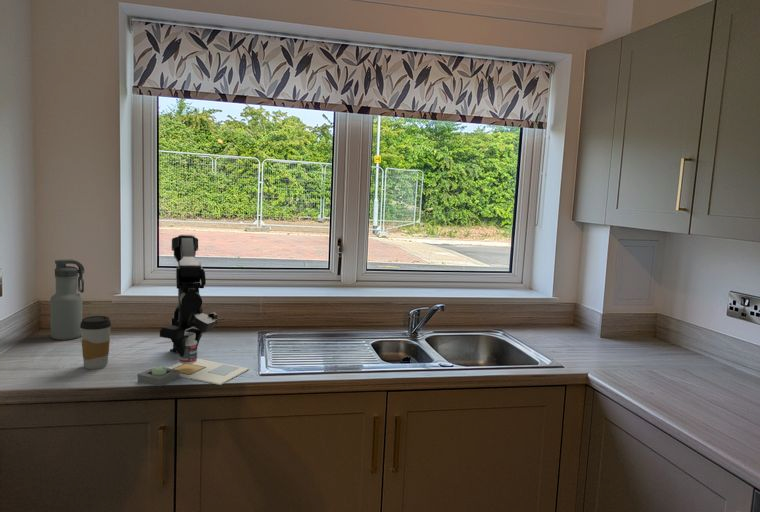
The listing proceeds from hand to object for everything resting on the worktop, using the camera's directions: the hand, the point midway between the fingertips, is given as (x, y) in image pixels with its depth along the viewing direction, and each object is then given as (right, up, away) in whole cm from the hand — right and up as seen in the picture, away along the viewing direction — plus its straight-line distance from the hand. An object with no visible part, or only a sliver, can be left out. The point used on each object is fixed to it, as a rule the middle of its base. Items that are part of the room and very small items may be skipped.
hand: (187, 353), depth 157 cm
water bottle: (-54, +1, +26) cm, 60 cm away
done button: (-5, -6, -8) cm, 12 cm away
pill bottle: (0, -3, 0) cm, 3 cm away
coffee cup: (-28, -4, -1) cm, 28 cm away
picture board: (+5, -6, +1) cm, 8 cm away
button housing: (-5, -6, -8) cm, 12 cm away
